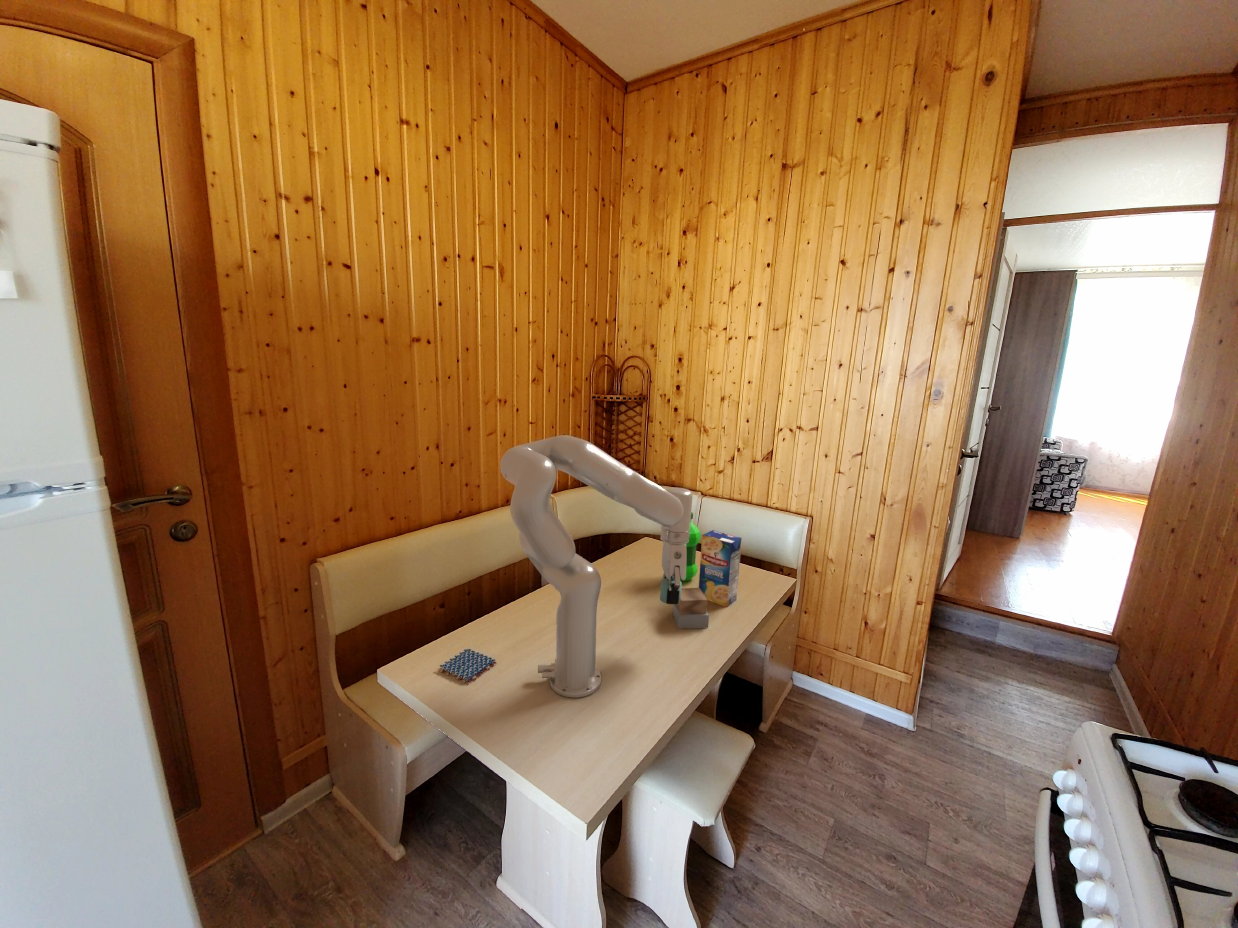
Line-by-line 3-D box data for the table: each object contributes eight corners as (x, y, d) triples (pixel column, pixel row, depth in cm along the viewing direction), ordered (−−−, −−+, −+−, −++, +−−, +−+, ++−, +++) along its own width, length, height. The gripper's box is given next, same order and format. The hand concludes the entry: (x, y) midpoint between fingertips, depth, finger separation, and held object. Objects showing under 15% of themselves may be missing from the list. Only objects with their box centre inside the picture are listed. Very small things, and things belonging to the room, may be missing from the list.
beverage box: (726, 607, 161) (732, 543, 156) (697, 596, 168) (701, 534, 163) (736, 600, 166) (741, 537, 161) (708, 589, 173) (712, 530, 168)
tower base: (678, 629, 147) (679, 615, 146) (672, 614, 156) (673, 601, 155) (708, 628, 148) (709, 615, 147) (700, 613, 157) (701, 600, 156)
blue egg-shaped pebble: (661, 604, 131) (663, 586, 130) (658, 594, 136) (659, 578, 136) (682, 604, 132) (683, 586, 131) (677, 595, 137) (679, 578, 136)
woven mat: (468, 687, 118) (468, 680, 118) (437, 673, 123) (437, 666, 123) (498, 665, 127) (498, 658, 127) (468, 652, 132) (468, 646, 132)
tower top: (680, 614, 147) (681, 600, 146) (673, 601, 154) (674, 588, 154) (706, 613, 148) (707, 599, 147) (698, 600, 156) (699, 587, 155)
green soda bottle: (664, 573, 185) (668, 509, 180) (690, 571, 188) (694, 508, 183) (675, 585, 175) (679, 518, 170) (702, 582, 178) (707, 516, 173)
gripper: (696, 546, 123) (691, 613, 126) (681, 524, 139) (676, 584, 143) (667, 545, 122) (662, 613, 125) (655, 524, 139) (651, 584, 142)
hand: (670, 597), depth 134 cm, fingers closed on blue egg-shaped pebble, 5 cm apart
